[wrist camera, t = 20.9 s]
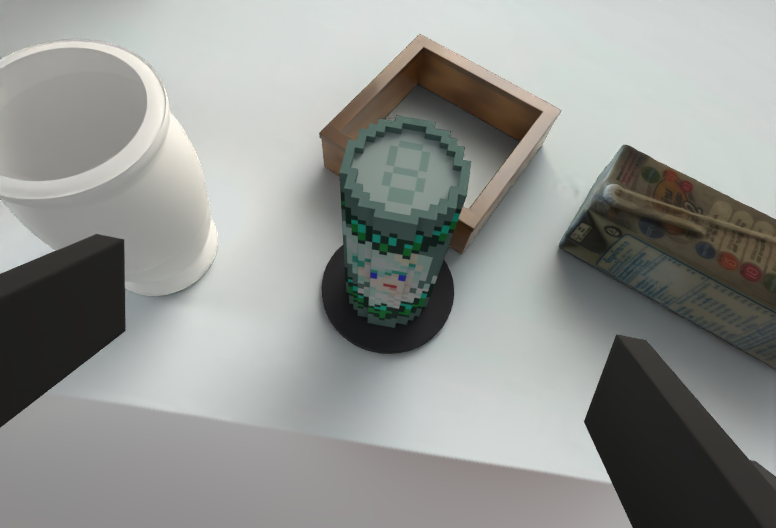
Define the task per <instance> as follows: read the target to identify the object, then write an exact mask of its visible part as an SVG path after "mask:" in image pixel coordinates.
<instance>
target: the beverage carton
mask: <svg viewBox="0 0 776 528" xmlns="http://www.w3.org/2000/svg"><path fill="white" fill-rule="evenodd" d="M559 247H560V248H562V249H564V250H566V251H567V252H569V253H571V254H573V255H575V256H576V257H578V258H580V259H582V260H583V261H585V262H587V263H589V264H591V265H592V266H594V267H596V268H598V269H599V270H601V271H603V272H604V273H606V274H608V275H609V276H611V277H613V278H615V279H616V280H618V281H620V282H622V283H623V284H625V285H627V286H629V287H631V288H633V289H634V290H636V291H638V292H640V293H642V294H643V295H645V296H647V297H649V298H650V299H652V300H654V301H656V302H658V303H659V304H661V305H663V306H665V307H666V308H668V309H670V310H671V311H673V312H675V313H677V314H679V315H680V316H682V317H684V318H686V319H688V320H690V321H692V322H693V323H695V324H697V325H699V326H700V327H702V328H704V329H706V330H708V331H709V332H711V333H713V334H715V335H716V336H718V337H720V338H722V339H724V340H725V341H727V342H729V343H731V344H733V345H734V346H736V347H738V348H740V349H742V350H743V351H745V352H747V353H749V354H750V355H752V356H754V357H756V358H757V359H759V360H761V361H763V362H764V363H766V364H768V365H770V366H772V367H774V368H776V219H774V218H772V217H770V216H768V215H766V214H764V213H762V212H759V211H757V210H756V209H754V208H751V207H749V206H747V205H745V204H743V203H740V202H738V201H736V200H734V199H733V198H731V197H729V196H727V195H725V194H722V193H721V192H719V191H717V190H715V189H713V188H711V187H709V186H707V185H705V184H703V183H701V182H699V181H697V180H695V179H693V178H691V177H689V176H687V175H685V174H683V173H681V172H678V171H676V170H674V169H672V168H670V167H668V166H667V165H665V164H662V163H660V162H658V161H656V160H654V159H653V158H651V157H650V156H648V155H646V154H644V153H642V152H639V151H637V150H636V149H634V148H633V147H631V146H628V145H623V146H622V147H621V148H620V149H619V151H618V152H617V154H616V155H615V156H614V158H613V159H612V161H611V162H610V163H609V164H608V166H606V167H605V169H604V170H603V172H602V173H601V174H600V175H599V176H598V178H597V180H596V182H595V184H594V185H593V186H592V188H591V189H590V192H589V194H588V196H587V198H586V199H585V201H584V203H583V204H582V206H581V207H580V209H579V211H578V213H577V214H576V216H575V218H574V219H573V221H572V222H571V224H570V226H569V228H568V230H567V231H566V233H565V234H564V236H563V237H562V239H561V241H560V243H559Z"/></svg>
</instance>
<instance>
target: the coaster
mask: <svg viewBox="0 0 776 528" xmlns="http://www.w3.org/2000/svg"><path fill="white" fill-rule="evenodd" d="M322 298H323V303H324V308H325V311H326V313H327V316H328V318H329V320H330V321H331V323H332V324H333V326H334V327H335V329H336V330H337V331H338V332H339V333H340V334H341V335H342V336H343V337H344V338H346V339H347V340H348V341H350V342H351V343H353V344H354V345H356V346H358V347H360V348H363V349H365V350H368V351H372V352H377V353H386V354H393V353H402V352H406V351H410V350H412V349H415V348H418V347H419V346H421V345H423V344H425V343H426V342H428V341H429V340H431V339H432V338H433V337H434V336H435V335H436V334H437V333H438V332H439V331H440V330H441V328H442V327H443V325H444V324H445V322H446V320H447V319H448V316H449V314H450V312H451V309H452V305H453V299H454V285H453V279H452V276H451V273H450V270H449V268H448V266H447V264H446V262H445V260H443V263H442V266H441V268H440V271H439V274H438V277H437V279H436V282H435V285H434V288H433V290H432V293H431V296H430V299H429V301H428V304H427V307H422V310H421V313H420V316H419V317H418V316H414V319H413V321H411V320H408V322H407V325H404V324H399V323H396V325H395V328H392V327H386V326H381V325H376V324H371V323H367V322H368V317H362V316H358V310H354V309H353V304H350V303H349V293H347V292H346V282H345V264H344V246H343V245H342V246H341V247H340V248H339V249H338V250H337V251H336V252H335V253H334V255H333V256H332V257H331V259H330V261H329V263H328V264H327V267H326V269H325V272H324V276H323V280H322Z"/></svg>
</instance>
